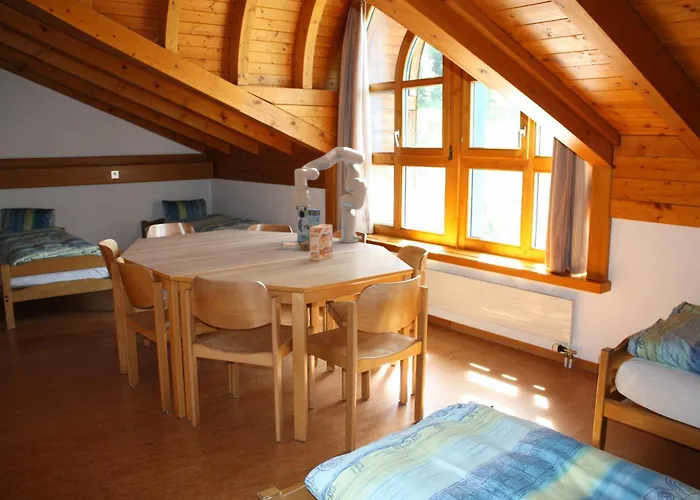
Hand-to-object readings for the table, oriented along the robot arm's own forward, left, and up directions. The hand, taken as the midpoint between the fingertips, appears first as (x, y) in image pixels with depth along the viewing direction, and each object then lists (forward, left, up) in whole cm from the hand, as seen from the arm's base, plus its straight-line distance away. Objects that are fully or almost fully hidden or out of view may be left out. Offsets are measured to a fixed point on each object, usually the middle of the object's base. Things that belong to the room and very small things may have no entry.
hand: (302, 217), depth 428 cm
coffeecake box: (-22, +30, -20) cm, 42 cm away
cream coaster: (+8, 0, -18) cm, 20 cm away
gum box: (+2, -19, -20) cm, 28 cm away
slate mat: (+7, +1, -20) cm, 21 cm away
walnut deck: (-5, +1, -20) cm, 20 cm away
